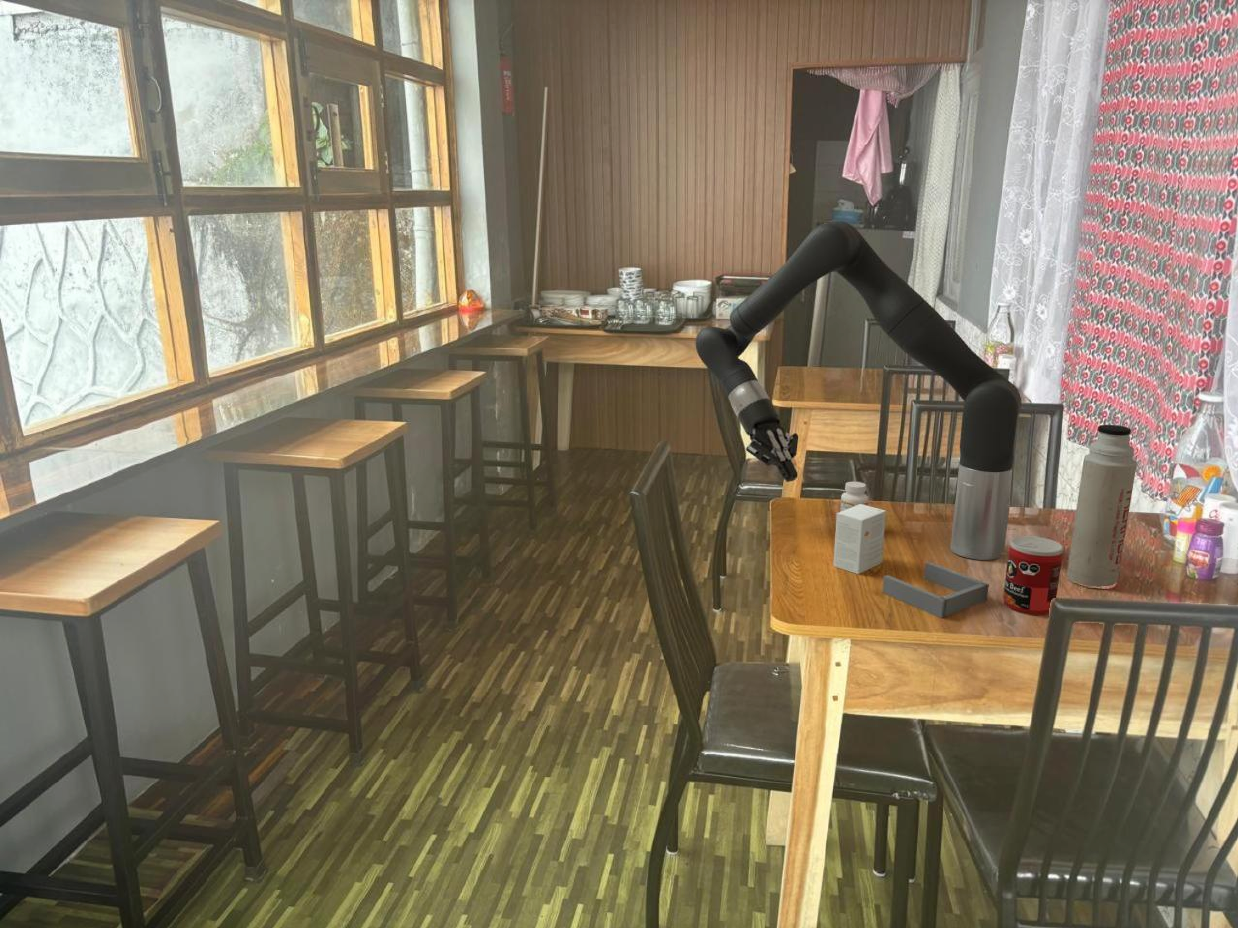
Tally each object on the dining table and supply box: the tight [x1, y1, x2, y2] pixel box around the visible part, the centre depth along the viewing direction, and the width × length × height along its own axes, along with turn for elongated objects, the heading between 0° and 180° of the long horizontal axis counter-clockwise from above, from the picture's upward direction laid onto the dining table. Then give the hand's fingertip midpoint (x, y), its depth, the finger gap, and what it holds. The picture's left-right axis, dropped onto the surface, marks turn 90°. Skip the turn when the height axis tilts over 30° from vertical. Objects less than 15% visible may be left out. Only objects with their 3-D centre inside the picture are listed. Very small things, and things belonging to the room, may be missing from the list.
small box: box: [833, 504, 887, 575], centre depth 165 cm, size 8×6×10 cm
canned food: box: [1002, 535, 1064, 616], centre depth 148 cm, size 8×8×11 cm
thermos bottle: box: [1066, 424, 1138, 587], centre depth 156 cm, size 8×8×28 cm
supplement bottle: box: [839, 481, 869, 512], centre depth 184 cm, size 5×5×10 cm
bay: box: [881, 561, 990, 619], centre depth 153 cm, size 12×12×3 cm
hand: (792, 479), depth 178 cm, fingers closed
